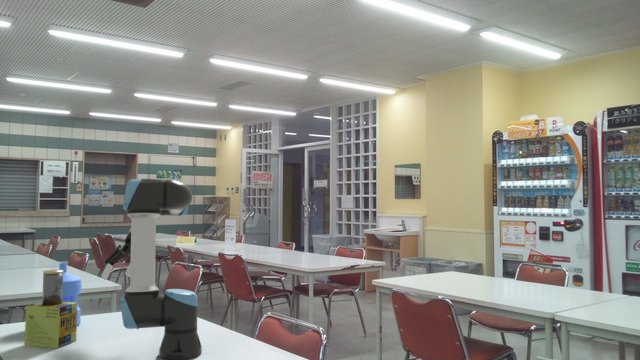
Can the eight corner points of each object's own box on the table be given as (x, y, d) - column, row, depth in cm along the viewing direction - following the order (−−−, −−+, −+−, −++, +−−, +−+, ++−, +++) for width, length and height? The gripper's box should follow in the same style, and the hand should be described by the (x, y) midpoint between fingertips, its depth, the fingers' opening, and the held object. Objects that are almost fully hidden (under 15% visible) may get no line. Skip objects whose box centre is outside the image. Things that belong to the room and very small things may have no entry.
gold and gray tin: (65, 303, 196) (66, 270, 197) (46, 306, 191) (47, 272, 191) (58, 301, 201) (59, 269, 201) (39, 304, 195) (40, 270, 196)
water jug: (32, 328, 217) (35, 264, 219) (61, 320, 232) (63, 261, 234) (61, 331, 213) (63, 266, 214) (88, 323, 228) (90, 262, 229)
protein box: (58, 348, 188) (59, 307, 189) (23, 346, 191) (25, 305, 192) (77, 341, 199) (78, 302, 199) (43, 338, 202) (45, 300, 202)
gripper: (163, 238, 219) (143, 279, 205) (121, 244, 229) (99, 283, 215) (152, 227, 214) (132, 269, 200) (110, 234, 224) (87, 274, 210)
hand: (115, 276), depth 207 cm, fingers open, 13 cm apart
